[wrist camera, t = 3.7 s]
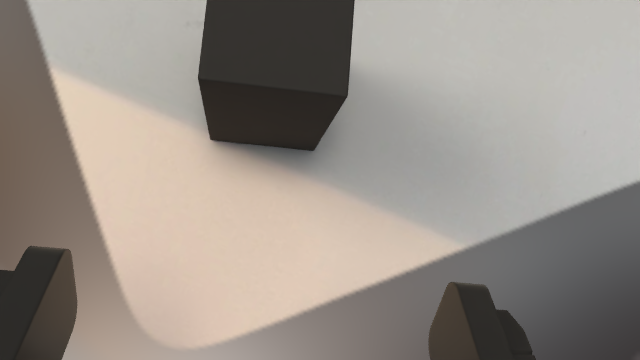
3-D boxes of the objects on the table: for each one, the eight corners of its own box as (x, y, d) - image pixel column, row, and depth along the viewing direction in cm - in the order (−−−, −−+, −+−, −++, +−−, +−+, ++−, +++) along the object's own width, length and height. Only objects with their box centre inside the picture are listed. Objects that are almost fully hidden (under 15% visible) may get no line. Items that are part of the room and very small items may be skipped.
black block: (210, 140, 25) (197, 79, 17) (220, 41, 26) (213, -62, 18) (314, 151, 26) (348, 96, 18) (321, 53, 26) (357, -40, 18)
